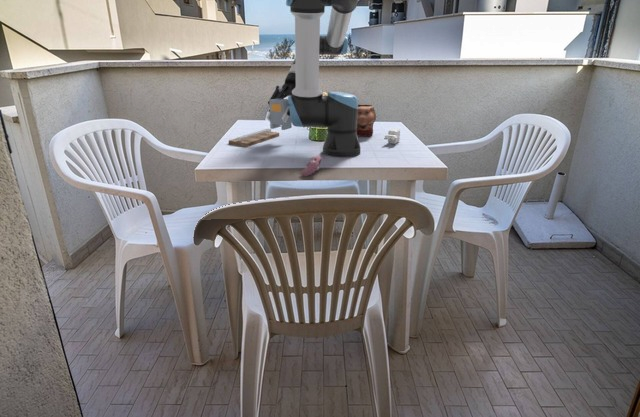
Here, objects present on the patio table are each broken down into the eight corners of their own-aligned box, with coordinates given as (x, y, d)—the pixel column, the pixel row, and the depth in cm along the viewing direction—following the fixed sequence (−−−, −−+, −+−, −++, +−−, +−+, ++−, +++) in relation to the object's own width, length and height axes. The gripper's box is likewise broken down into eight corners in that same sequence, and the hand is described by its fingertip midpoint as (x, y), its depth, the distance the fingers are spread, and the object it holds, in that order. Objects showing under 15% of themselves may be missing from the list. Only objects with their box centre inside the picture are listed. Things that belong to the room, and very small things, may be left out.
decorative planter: (347, 129, 207) (348, 101, 201) (372, 130, 207) (373, 101, 202) (351, 139, 188) (352, 108, 183) (377, 139, 188) (379, 108, 183)
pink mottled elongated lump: (311, 181, 137) (320, 164, 134) (299, 175, 137) (308, 157, 134) (317, 173, 146) (326, 156, 143) (306, 166, 146) (314, 150, 143)
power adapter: (392, 147, 174) (393, 133, 172) (381, 146, 176) (382, 132, 174) (400, 142, 183) (401, 128, 181) (390, 140, 185) (391, 127, 183)
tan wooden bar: (267, 131, 194) (266, 128, 194) (271, 132, 193) (271, 129, 193) (237, 141, 176) (236, 137, 176) (241, 141, 175) (241, 138, 175)
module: (278, 126, 182) (277, 98, 178) (291, 127, 179) (291, 99, 175) (270, 128, 177) (268, 99, 173) (283, 130, 174) (282, 101, 170)
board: (261, 133, 197) (261, 130, 197) (279, 135, 193) (279, 132, 192) (228, 144, 178) (228, 140, 177) (247, 146, 173) (247, 143, 173)
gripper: (318, 84, 180) (299, 127, 173) (280, 82, 189) (260, 123, 181) (312, 72, 174) (292, 116, 166) (273, 70, 182) (252, 112, 175)
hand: (276, 120), depth 174 cm, fingers closed on module, 7 cm apart
